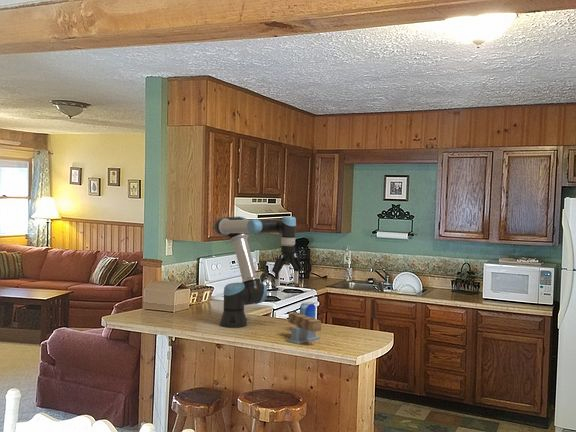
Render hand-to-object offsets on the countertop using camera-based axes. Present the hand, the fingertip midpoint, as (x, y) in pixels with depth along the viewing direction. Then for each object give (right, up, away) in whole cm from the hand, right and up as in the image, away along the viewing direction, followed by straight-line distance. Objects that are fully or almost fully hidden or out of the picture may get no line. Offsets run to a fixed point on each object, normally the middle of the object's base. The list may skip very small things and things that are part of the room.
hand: (286, 284), depth 321 cm
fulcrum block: (+9, -27, -17) cm, 33 cm away
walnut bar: (+9, -20, -18) cm, 28 cm away
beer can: (+11, -27, +2) cm, 29 cm away
